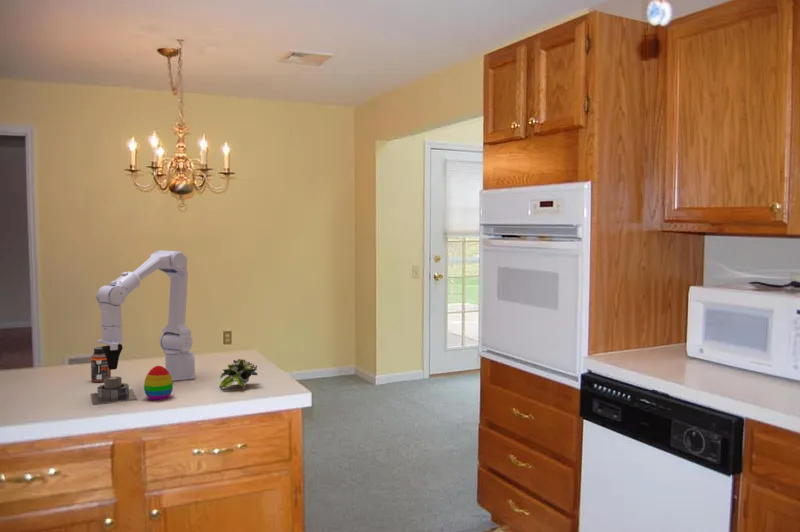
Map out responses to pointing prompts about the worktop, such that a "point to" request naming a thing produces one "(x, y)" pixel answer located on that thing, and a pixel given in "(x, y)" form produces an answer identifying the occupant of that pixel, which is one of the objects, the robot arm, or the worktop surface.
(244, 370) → the leafy green plant
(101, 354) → the supplement bottle
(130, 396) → the gray square plate
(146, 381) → the decorative egg
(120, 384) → the cap
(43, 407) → the worktop surface
